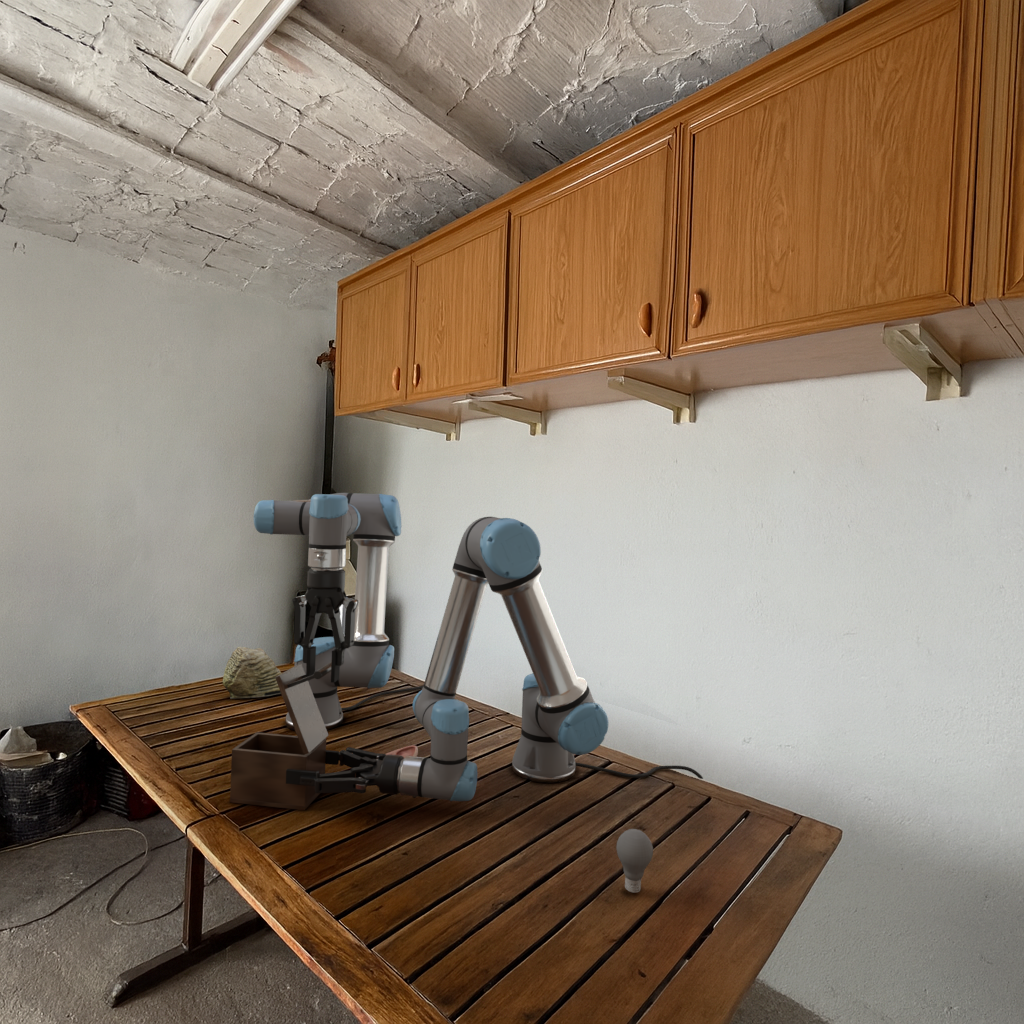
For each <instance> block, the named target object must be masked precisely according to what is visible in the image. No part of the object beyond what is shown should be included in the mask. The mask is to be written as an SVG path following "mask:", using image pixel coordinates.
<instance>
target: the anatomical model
mask: <svg viewBox="0 0 1024 1024" xmlns="http://www.w3.org/2000/svg"><path fill="white" fill-rule="evenodd" d="M385 754H386V755H400V756H403V757H404V758H405V757H406V756H414V757H418V755H419V748H418V746H417V745H412V744H411V745H407V746H404V747H401V748H400V747H399V748H398V749H394V750H391V751H389V752H387V753H385Z"/></svg>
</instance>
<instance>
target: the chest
mask: <svg viewBox="0 0 1024 1024" xmlns="http://www.w3.org/2000/svg"><path fill="white" fill-rule="evenodd" d="M326 750H327V738H325V739H324V740H323V741H322V742H321V743H320V744H318V745H317V746H316V747H315V748H314V749H313V750H312V751H311V752H310V753H308V754H305V755H304V752H303V750H302V747H301V744H300V742H299V739H298V736H297V735H289V734H278V733H268V732H267V733H266V732H258V731H257V732H255V733H253V734H252V735H251V736H249V737H248V738H246V739H244V741H242V742H241V743H239V744H237V746H235V747H233V748H232V749H231V762H230V792H229V803H234V804H241V805H242V804H243V805H251V806H252V805H253V806H262V807H269V808H278V809H279V808H281V809H288V810H298V811H305V810H306V809H307V808H308V807H309V806H310V805H311V804H312V803H314V801H315V800H316V798H318V796H319V795H320V794H321V793H315V786H305V785H295V784H286V770H287V769H296V770H306V771H319V773H320V774H325V773H326V764H325V762H326Z"/></svg>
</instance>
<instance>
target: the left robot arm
mask: <svg viewBox="0 0 1024 1024" xmlns="http://www.w3.org/2000/svg"><path fill="white" fill-rule="evenodd" d="M253 526H254V528H255V530H256V531H257V532H258V533H260V534H267V535H289V536H290V535H291V536H292V535H293V536H308V556H307V557H308V559H307V566H308V567H309V569H308V570H307V581H306V585H307V589H306V592H305V594H304V595H298V596H295V597H293V598H292V604H293V607H294V628H293V633H294V634H293V643H294V645H296V648H295V655H294V660H293V662H294V666H296V665H298V664H302V667H303V669H304V672H305V674H306V677H308V676H311V675H314V673H315V671H316V670H318V669H321V668H322V667H324V666H325V665H327V664H329V663H330V662H332V663H331V672H329V673H328V674H326V675H325V676H323V677H322V678H320V679H315V678H314V679H311V680H308V682H309V685H310V688H311V690H312V693H313V695H314V698H315V701H316V703H317V706H318V709H319V711H320V714H321V716H322V719H323V722H324V724H325V727H326V730H327V731H329V730H332V729H335V728H337V727H339V726H340V725H342V723H343V722H344V713H343V712H345V711H351V710H353V709H356V708H357V707H359V706H361V705H362V704H364V703H366V702H368V701H370V700H372V699H375V698H377V697H381V696H385V695H391V694H397V693H404V692H411V691H417V690H422V689H423V686H424V684H423V685H420V686H419V685H418V686H413V687H406V688H400V689H395V690H387V691H382V692H378V693H376V694H375V693H374V694H373V695H370V696H368V697H366V698H364V699H362V700H360V701H359V702H356V703H355V704H353V705H351V706H346V707H342V706H341V702H340V699H339V695H338V688H363V689H364V688H366V689H369V690H370V689H379V688H380V689H381V688H383V687H385V686H386V685H387V684H388V681H389V679H390V676H391V673H392V669H393V664H394V658H395V647H394V646H393V645H391V644H390V638H389V637H388V635H387V634H386V633H385V622H386V619H385V618H386V606H387V605H386V604H387V587H388V571H389V570H388V569H389V553H390V548H391V547H392V546H393V545H394V544H395V542H396V537H399V536H401V534H402V513H401V506H400V502H399V500H398V499H397V497H396V496H395V495H392V494H386V493H385V494H384V493H360V492H357V493H356V492H336V493H330V494H326V493H325V494H323V493H315V494H313V495H312V496H311V497H310V499H294V500H293V499H290V500H277V499H276V500H275V499H264V500H263V499H262V500H259V501H258V502H257V504H256V505H255V508H254V510H253ZM351 535H353V537H352V540H353V542H354V543H355V544H356V545H357V560H356V574H355V575H356V577H355V591H354V599H352V598H350V597H348V596H347V593H346V591H345V586H346V570H345V569H343V568H346V565H347V564H346V563H347V537H348V536H351ZM307 603H308V604H309V607H310V611H309V618H308V622H307V624H306V605H307ZM343 604H344V608H345V615H344V629H343V623H342V618H341V610H340V609H341V607H342V605H343ZM322 614H326V615H327V616H328V619H329V622H330V627H331V632H332V636H323V637H322V636H321V637H315V636H316V633H317V629H318V625H319V621H320V618H321V616H322ZM306 625H307V626H306ZM285 726H286V728H287V729H289V730H291V731H295V729H294V726H293V723H292V721H291V718H290V715H289V713H288V712H287V713H286V715H285Z"/></svg>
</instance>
